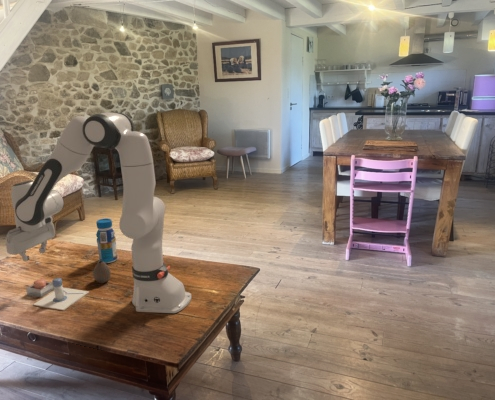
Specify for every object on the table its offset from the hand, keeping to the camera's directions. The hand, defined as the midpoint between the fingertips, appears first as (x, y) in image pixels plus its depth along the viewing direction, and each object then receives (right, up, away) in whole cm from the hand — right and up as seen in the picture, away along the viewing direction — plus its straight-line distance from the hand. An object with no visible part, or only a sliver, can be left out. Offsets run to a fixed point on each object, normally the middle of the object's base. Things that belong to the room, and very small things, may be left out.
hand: (34, 256), depth 152 cm
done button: (0, -14, +4) cm, 14 cm away
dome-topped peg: (+11, -16, -2) cm, 20 cm away
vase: (+22, -12, +13) cm, 28 cm away
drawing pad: (+11, -16, -1) cm, 20 cm away
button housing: (0, -15, +4) cm, 16 cm away
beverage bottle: (+17, -7, +34) cm, 38 cm away
